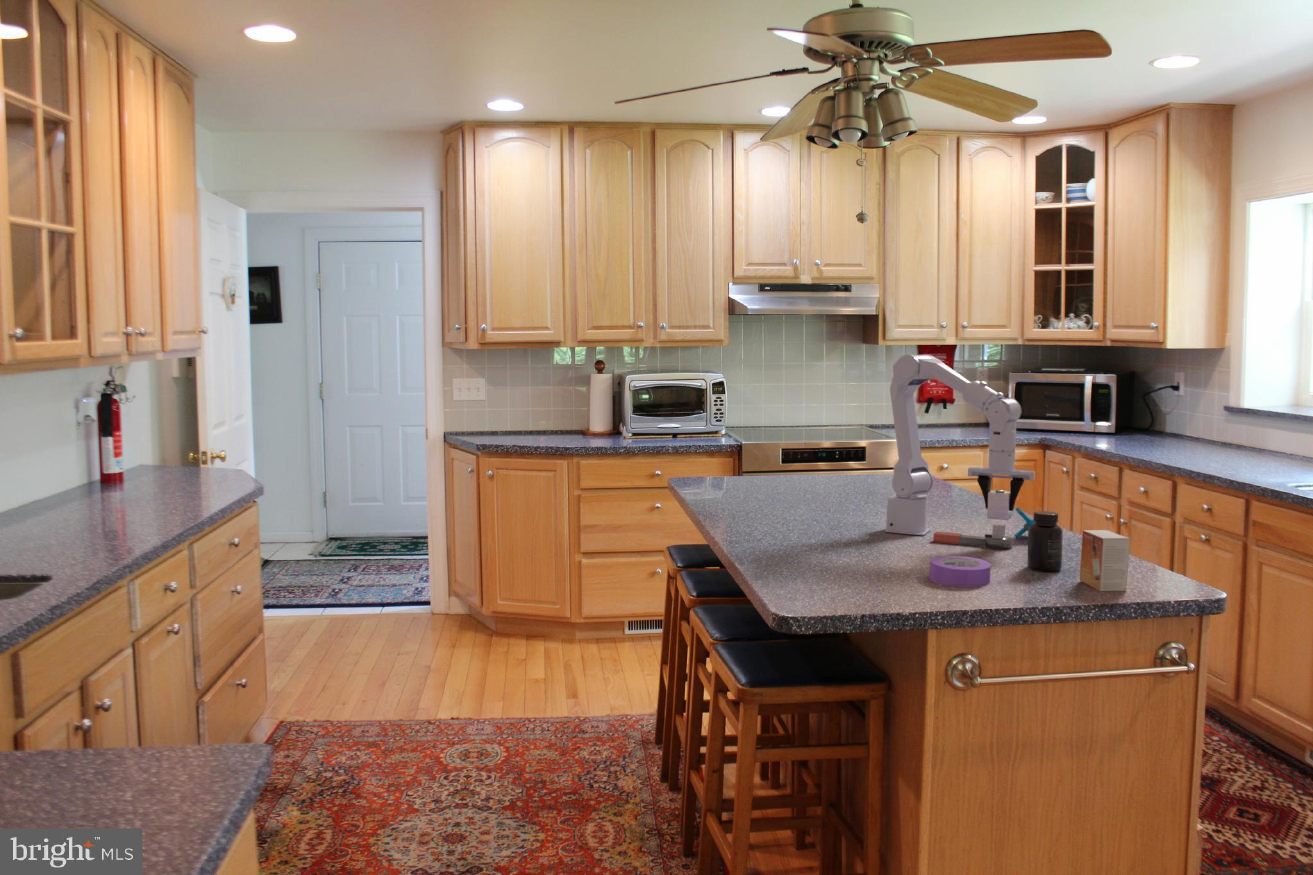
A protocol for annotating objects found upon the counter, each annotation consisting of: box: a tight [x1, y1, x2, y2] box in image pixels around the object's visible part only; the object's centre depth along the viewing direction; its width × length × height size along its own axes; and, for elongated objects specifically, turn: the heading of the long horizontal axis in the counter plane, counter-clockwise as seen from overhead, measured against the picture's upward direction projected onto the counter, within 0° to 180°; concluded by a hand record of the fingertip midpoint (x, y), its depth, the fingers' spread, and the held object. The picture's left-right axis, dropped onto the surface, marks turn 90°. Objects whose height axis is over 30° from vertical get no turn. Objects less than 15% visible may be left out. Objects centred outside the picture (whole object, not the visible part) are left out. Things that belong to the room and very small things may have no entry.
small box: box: [1079, 529, 1131, 592], centre depth 198 cm, size 8×6×10 cm
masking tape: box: [929, 555, 992, 588], centre depth 203 cm, size 12×12×4 cm
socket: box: [986, 489, 1012, 521], centre depth 233 cm, size 5×5×6 cm
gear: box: [1013, 507, 1035, 539], centre depth 244 cm, size 11×6×10 cm
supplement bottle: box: [1026, 510, 1064, 573], centre depth 212 cm, size 7×7×12 cm
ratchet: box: [932, 523, 1013, 551], centre depth 236 cm, size 18×6×5 cm, turn 63°
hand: (999, 509), depth 233 cm, fingers closed on socket, 5 cm apart
